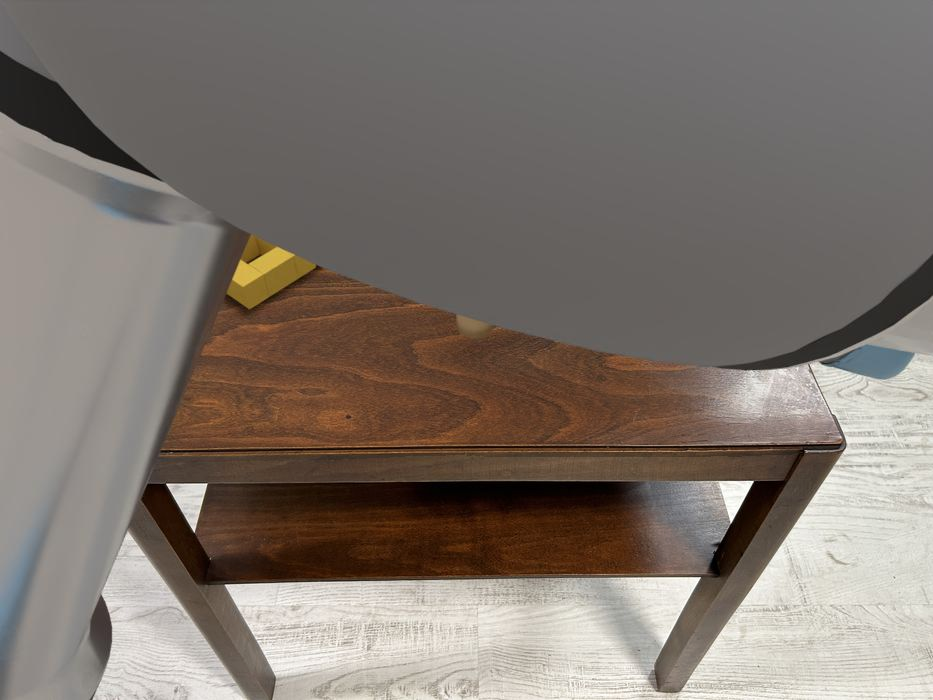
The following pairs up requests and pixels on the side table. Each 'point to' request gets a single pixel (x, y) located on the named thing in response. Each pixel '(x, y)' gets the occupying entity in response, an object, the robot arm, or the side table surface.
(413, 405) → the side table surface
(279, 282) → the socket block
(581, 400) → the side table surface
